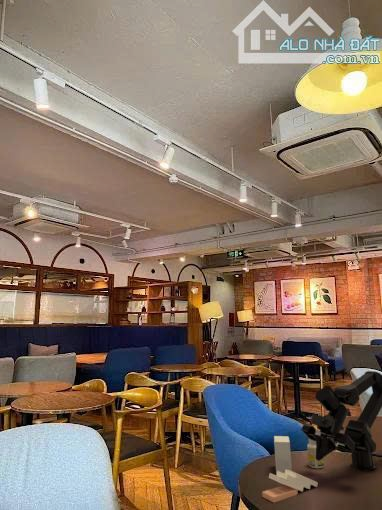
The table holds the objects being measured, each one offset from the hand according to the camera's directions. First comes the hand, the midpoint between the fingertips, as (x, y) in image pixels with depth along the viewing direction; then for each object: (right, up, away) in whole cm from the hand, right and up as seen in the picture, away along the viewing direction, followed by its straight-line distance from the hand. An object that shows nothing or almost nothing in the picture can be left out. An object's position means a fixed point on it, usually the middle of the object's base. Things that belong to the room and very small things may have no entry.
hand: (317, 459), depth 128 cm
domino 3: (-6, -6, -4) cm, 9 cm away
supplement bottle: (+4, -10, +13) cm, 17 cm away
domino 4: (-3, -6, -3) cm, 7 cm away
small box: (-9, -10, +11) cm, 17 cm away
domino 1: (-8, -5, -6) cm, 12 cm away
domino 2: (-11, -5, -8) cm, 14 cm away
